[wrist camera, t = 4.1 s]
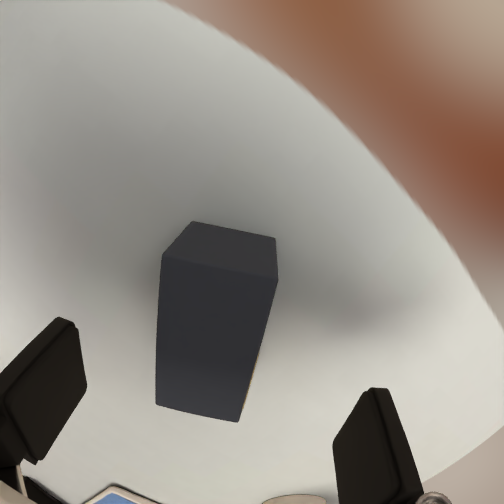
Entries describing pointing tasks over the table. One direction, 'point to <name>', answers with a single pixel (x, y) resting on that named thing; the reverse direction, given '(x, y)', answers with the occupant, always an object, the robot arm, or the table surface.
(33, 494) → the black piece
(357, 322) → the table surface
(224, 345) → the eraser
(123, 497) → the tablet
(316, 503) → the cup
